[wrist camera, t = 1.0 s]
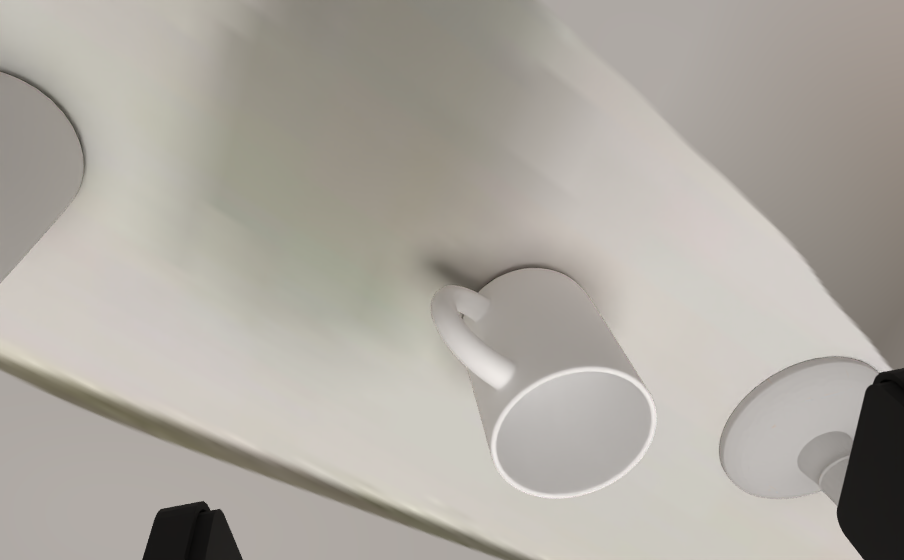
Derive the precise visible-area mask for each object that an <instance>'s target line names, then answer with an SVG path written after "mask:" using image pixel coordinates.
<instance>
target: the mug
mask: <svg viewBox="0 0 904 560" xmlns="http://www.w3.org/2000/svg"><path fill="white" fill-rule="evenodd" d="M458 312H460V313H462V314H464V317H463V319H462V318H461V316H460V315H459V313H458ZM431 315H432V319H433V322H434V324H435V326H436V328H437V331H438V333H439V334H440V336H441V338H442V339H443V341H444V342H445V344H446V345H447V347H448V348H449V349H450V350H451V351H452V353H453V354H454V355H455V356H456V357H457V358H458V359H459V360H460V361H461V362H462V363H463V364H464V365H465V366H466V367H467V370H468V373H469V377H470V381H471V384H472V388H473V392H474V395H475V399H476V402H477V406H478V410H479V413H480V417H481V421H482V424H483V428H484V432H485V435H486V439H487V442H488V446H489V450H490V453H491V457H492V460H493V463H494V465H495V467H496V469H497V471H498V472H499V474H500V475H501V476H502V477H503V478H504V480H505V481H507V482H508V483H509V484H510V485H511V486H513V487H514V488H516V489H518V490H519V491H522V492H524V493H526V494H529V495H533V496H536V497H542V498H553V499H559V498H571V497H577V496H581V495H585V494H589V493H592V492H595V491H597V490H600V489H602V488H604V487H606V486H608V485H610V484H612V483H614V482H615V481H617V480H618V479H620V478H621V477H623V476H624V475H625V474H626V473H628V472H629V471H630V470H631V469H632V468H633V467H634V466H635V465H636V464H637V463H638V462H639V461H640V460H641V458H642V457H643V456H644V455H645V453H646V451H647V450H648V448H649V446H650V444H651V442H652V440H653V437H654V434H655V431H656V424H657V412H656V407H655V403H654V401H653V398H652V396H651V394H650V393H649V391H648V389H647V388H646V386H645V385H644V383H643V381H642V380H641V378H640V377H639V375H638V374H637V372H636V370H635V369H634V367H633V366H632V364H631V362H630V361H629V359H628V358H627V356H626V354H625V353H624V351H623V350H622V348H621V347H620V345H619V343H618V342H617V340H616V339H615V337H614V335H613V334H612V332H611V331H610V329H609V327H608V326H607V324H606V323H605V321H604V320H603V318H602V316H601V315H600V313H599V312H598V310H597V308H596V307H595V305H594V304H593V302H592V300H591V299H590V297H589V296H588V295H587V293H586V292H585V291H584V290H583V289H582V288H581V286H580V285H578V284H577V283H576V282H575V281H574V280H573V279H571V278H569V277H568V276H566V275H564V274H562V273H560V272H557V271H553V270H550V269H543V268H526V269H520V270H515V271H512V272H509V273H506V274H504V275H502V276H499V277H497V278H496V279H494V280H492V281H491V282H489V283H488V284H487V285H486V286H484V287H483V288H482V289H481V290H480V291H479V292H478V293H477V292H475V291H473V290H470V289H468V288H465V287H461V286H456V285H449V286H445V287H442V288H441V289H439V290H438V291H437V292H436V293H435V294H434V296H433V298H432V301H431Z"/></svg>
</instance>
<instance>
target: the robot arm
mask: <svg viewBox="0 0 904 560" xmlns="http://www.w3.org/2000/svg"><path fill="white" fill-rule="evenodd" d="M837 518H838V522H839V525H840V527H841V529H842V531H843V533H844V534H845V536H846V537H847V539H848V540H849V541H850V542H851V544H852V545H853V546H854V548H855V549H856V550H857V551H858V553H859V554H860V555H861V557H862V558H863V559H864V560H904V368H902V369H897V370H892V371H887V372H882V373H879V374H878V375H877V376H876V377H875V379H874V382H873V385H870V386H868V387H867V389H866V391H865V394H864V399H863V403H862V407H861V411H860V415H859V420H858V424H857V428H856V432H855V436H854V440H853V445H852V449H851V453H850V457H849V461H848V465H847V470H846V474H845V478H844V482H843V486H842V490H841V495H840V499H839V503H838V507H837ZM142 560H243V559H242V557H241V554H240V552H239V550H238V547H237V545H236V542H235V540H234V538H233V535H232V533H231V530H230V528H229V526H228V523H227V521H226V518H225V516H224V514H223V512H222V511H221V510H220V509H217V510H212V511H210V509H209V507H208V505H207V504H206V503H205V502H204V501H202V502H196V503H191V504H185V505H181V506H175V507H170V508H164V509H161V510H160V511H159V512H158V513H157V515H156V517H155V520H154V523H153V526H152V529H151V533H150V536H149V539H148V543H147V546H146V549H145V553H144V556H143V559H142Z"/></svg>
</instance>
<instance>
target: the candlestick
mask: <svg viewBox="0 0 904 560" xmlns="http://www.w3.org/2000/svg"><path fill="white" fill-rule="evenodd" d="M878 374H879V373H878V372H877V371H876V370H875V369H874V368H872V367H871V366H869V365H868V364H866V363H864V362H862V361H859V360H856V359H852V358H846V357H825V358H818V359H813V360H809V361H805V362H802V363H799V364H796V365H793V366H791V367H789V368H786V369H784V370H782V371H780V372H778V373H777V374H775V375H773V376H772V377H770V378H768V379H767V380H765V381H764V382H763V383H761V384H760V385H759V386H757V387H756V388H755V389H754V390H752V391H751V392H750V393H749V394H748V395H747V396H746V397H745V398H744V399H743V400H742V401H741V402H740V404H739V405H738V406H737V407H736V409H735V410H734V411H733V413H732V414H731V416H730V418H729V419H728V421H727V423H726V425H725V428H724V430H723V433H722V436H721V440H720V448H719V452H720V460H721V464H722V467H723V469H724V471H725V472H726V474H727V475H728V477H729V478H730V480H731V481H732V482H733V483H734V484H735V485H736V486H737V487H738V488H740V489H741V490H743V491H745V492H747V493H749V494H751V495H754V496H757V497H762V498H770V499H788V498H797V497H802V496H807V495H810V494H814V493H817V492H820V491H823V492H824V493H825V494H826V495H827V496H828V497H829V498H830V499H831V500H832V501H833V502H834V503H835V504H836V505H837V506H838V503H839V499H840V495H841V490H842V486H843V482H844V478H845V474H846V470H847V465H848V461H849V457H850V453H851V449H852V445H853V440H854V436H855V432H856V428H857V424H858V420H859V415H860V411H861V407H862V403H863V399H864V394H865V391H866V389H867V387H868V386H870V385H873V382H874V379H875V377H876V376H877V375H878Z"/></svg>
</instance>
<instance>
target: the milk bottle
mask: <svg viewBox="0 0 904 560" xmlns="http://www.w3.org/2000/svg"><path fill="white" fill-rule="evenodd" d="M83 169H84V163H83V154H82V149H81V146H80V142H79V140H78V137H77V135H76V133H75V130H74V128H73V126H72V125H71V123H70V122H69V120H68V119H67V117H66V116H65V114H64V113H63V112H62V111H61V110H60V109H59V108H58V107H57V106H56V105H55V103H54V102H53V101H52V100H51V99H50V98H48V97H47V96H45V95H44V94H43V93H42V92H40V91H39V90H38V89H37V88H35V87H33V86H31V85H29V84H28V83H26V82H24V81H22V80H20V79H18V78H16V77H13V76H11V75H8V74H5V73H2V72H0V283H1V282H2V281H3V280H4V279H5V278H6V277H7V276H8V274H9V273H10V272H11V271H12V270H13V269H14V268H15V267H16V266H17V264H18V263H19V262H20V261H21V260H22V259H23V258H24V257H25V255H26V254H27V253H28V252H29V251H30V250H31V249H32V247H33V246H34V245H35V244H36V243H37V242H38V241H39V239H40V238H41V237H42V236H43V235H44V234H45V233H46V232H47V230H48V229H49V228H50V227H51V226H52V225H53V223H54V222H55V221H56V220H57V219H58V218H59V216H60V215H61V214H62V213H63V212H64V211H65V209H66V208H67V207H68V205H69V204H70V203H71V201H72V200H73V199H74V197H75V196H76V194H77V192H78V190H79V188H80V185H81V182H82V177H83Z"/></svg>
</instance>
